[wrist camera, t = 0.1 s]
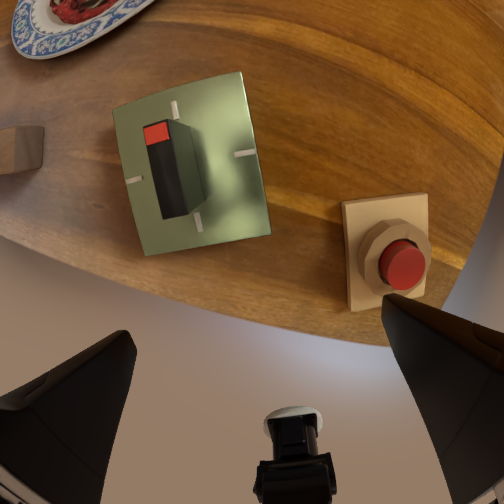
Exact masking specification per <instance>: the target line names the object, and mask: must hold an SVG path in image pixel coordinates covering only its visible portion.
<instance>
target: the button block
mask: <svg viewBox="0 0 504 504" xmlns="http://www.w3.org/2000/svg"><path fill="white" fill-rule="evenodd" d="M341 207H342V217H343V227H344V239H345V253H346V270H347V296H348V308H349V310H350V312H356V311H361V310H366V309H370V308H375V307H379V306H382V299H383V296H384V295H386V294H390V293H397V294H399V295H402V296H405V297H407V298H410V299H412V298H416V297H420V296H423V295H424V289H425V279H426V274H427V272H428V270H429V268H430V264H431V245H430V243H429V240H428V195H427V194H425V193H422V192H416V193H407V194H399V195H390V196H382V197H374V198H366V199H359V200H351V201H344V202H341ZM397 241H406V242H408V243H410V244H412V245H413V246H414V247H416V248H417V249H419V250H420V251H421V252H422V253H423V255H424V257H425V262H426V266H425V271H424V274H423V276H422V278H421V280H420V281H419V282H418V283H417V284H416V285H415V286H414V287H412V288H410V289H407V290H397V289H395V288H393V287H392V286H391V285H390V284H389V283H388V281H387V280H386V279H385V278H384V277H383V276H382V274H381V271H380V259H381V256H382V254H383V252H384V251H385V249H386V248H387V247H388V246H389V245H391V244H392V243H394V242H397Z"/></svg>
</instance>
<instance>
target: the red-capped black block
mask: <svg viewBox="0 0 504 504" xmlns="http://www.w3.org/2000/svg"><path fill="white" fill-rule="evenodd" d="M143 132H144V137H145V143H146V148H147V153H148V158H149V163H150V168H151V172H152V177H153V181H154V186H155V190H156V194H157V199H158V203H159V207H160V211H161V215H162V219H163V220H166V219H171V218H176V217H180V216H185V215H189V214H190V213H191V212H192V211H193V210H194V209H196V208H197V207H198V206H199V205H200V204H202V203H203V202H204V201H205V200H204V196H203V191H202V187H201V182H200V177H199V172H198V168H197V163H196V158H195V153H194V148H193V143H192V138H191V133H190V127H189V126H188V125H185V124H182V123H180V122H177V121H174V120H171V119H164V120H161V121H158V122H155V123H152V124H149V125H146V126H143Z"/></svg>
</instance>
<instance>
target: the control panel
mask: <svg viewBox="0 0 504 504" xmlns="http://www.w3.org/2000/svg"><path fill="white" fill-rule="evenodd" d="M112 112H113V119H114V126H115V132H116V138H117V143H118V149H119V154H120V159H121V164H122V169H123V173H124V178H125V183H126V187H127V191H128V195H129V200H130V204H131V208H132V211H133V215H134V219H135V223H136V226H137V230H138V234H139V237H140V241H141V244H142V247H143V251H144V254H145V256H151V255H157V254H162V253H168V252H173V251H179V250H185V249H190V248H196V247H202V246H208V245H213V244H219V243H225V242H231V241H237V240H243V239H249V238H255V237H261V236H267V235H272V230H271V222H270V216H269V211H268V205H267V199H266V194H265V188H264V183H263V177H262V172H261V166H260V161H259V156H258V150H257V145H256V140H255V135H254V129H253V124H252V119H251V114H250V109H249V104H248V99H247V94H246V89H245V85H244V80H243V76H242V72H241V71H237V72H232V73H227V74H223V75H218V76H214V77H209V78H205V79H201V80H197V81H194V82H190V83H186V84H183V85H179V86H176V87H173V88H169V89H166V90H163V91H160V92H157V93H154V94H151V95H148V96H145V97H143V98H140V99H137V100H135V101H132V102H129V103H127V104H124V105H122V106H119V107H117V108H115V109H113V110H112ZM164 119H171V120H174V121H177V122H180V123H182V124H185V125H188V126H189V127H190V133H191V138H192V143H193V148H194V153H195V158H196V163H197V168H198V172H199V177H200V182H201V187H202V191H203V196H204V200H205V201H204V202H203V203H202V204H200V205H199V206H198V207H197V208H196V209H194V210H193V211H192V212H191V213H190V214H189V215H185V216H180V217H176V218H171V219H166V220H163V219H162V215H161V211H160V207H159V203H158V199H157V194H156V190H155V186H154V181H153V177H152V172H151V168H150V163H149V158H148V153H147V148H146V143H145V137H144V132H143V126H146V125H149V124H152V123H155V122H158V121H161V120H164Z"/></svg>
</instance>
